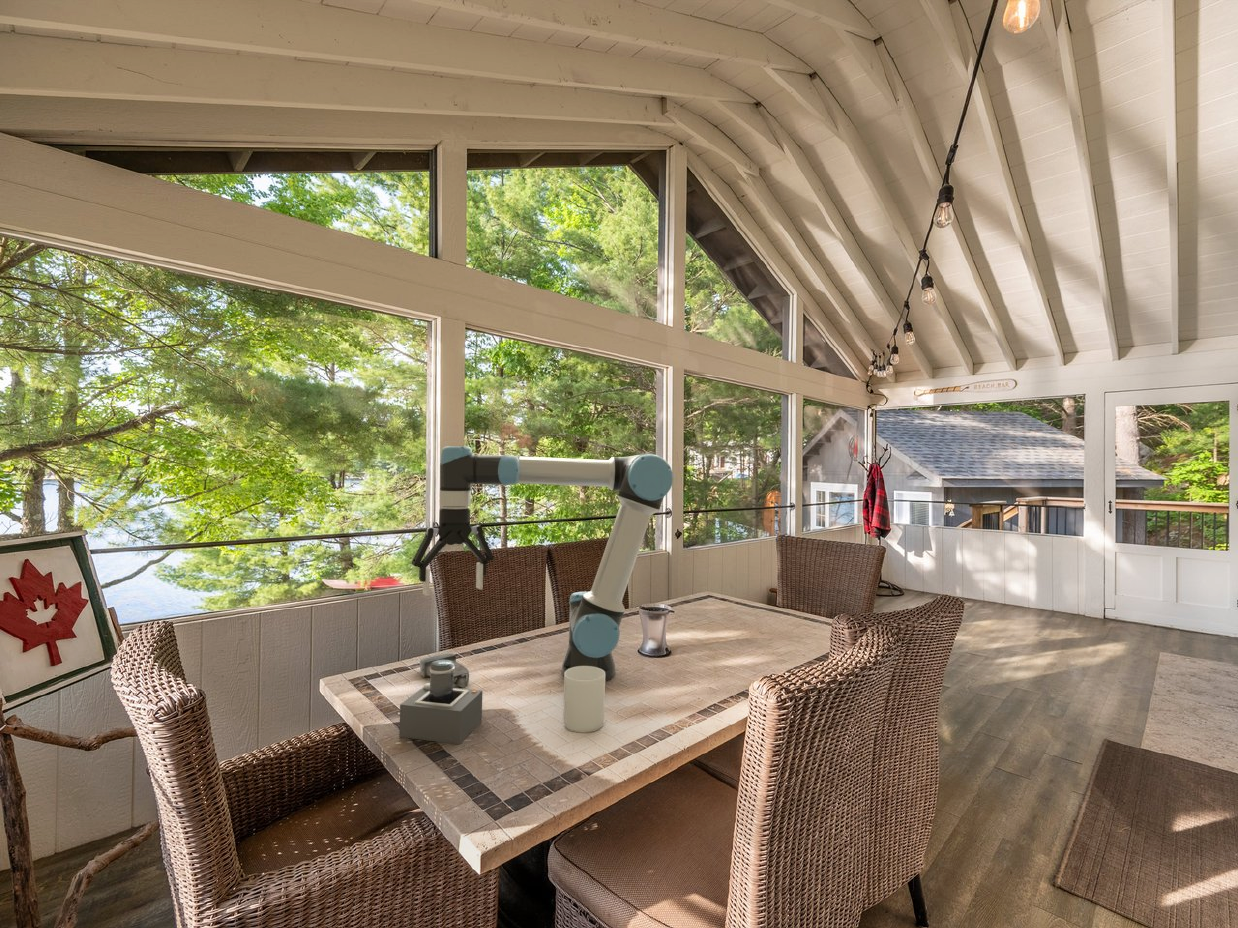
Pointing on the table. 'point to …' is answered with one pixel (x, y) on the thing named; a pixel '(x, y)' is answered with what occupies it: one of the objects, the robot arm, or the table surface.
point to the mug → (584, 698)
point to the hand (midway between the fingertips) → (453, 591)
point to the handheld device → (459, 670)
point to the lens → (441, 681)
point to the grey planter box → (441, 716)
